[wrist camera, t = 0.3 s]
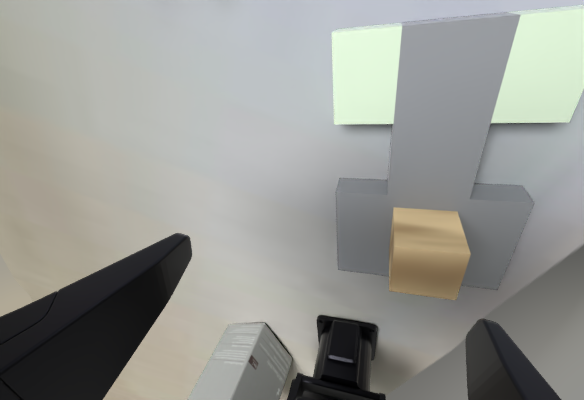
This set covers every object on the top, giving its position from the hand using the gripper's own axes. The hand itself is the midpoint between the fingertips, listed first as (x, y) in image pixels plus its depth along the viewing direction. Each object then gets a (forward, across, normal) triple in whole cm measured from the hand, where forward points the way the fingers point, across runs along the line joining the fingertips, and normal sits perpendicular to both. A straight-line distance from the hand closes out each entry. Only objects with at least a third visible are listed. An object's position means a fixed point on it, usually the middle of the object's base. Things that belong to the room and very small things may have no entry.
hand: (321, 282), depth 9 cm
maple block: (+12, -6, +6) cm, 15 cm away
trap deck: (+14, -5, +2) cm, 15 cm away
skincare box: (+15, +6, +32) cm, 36 cm away
